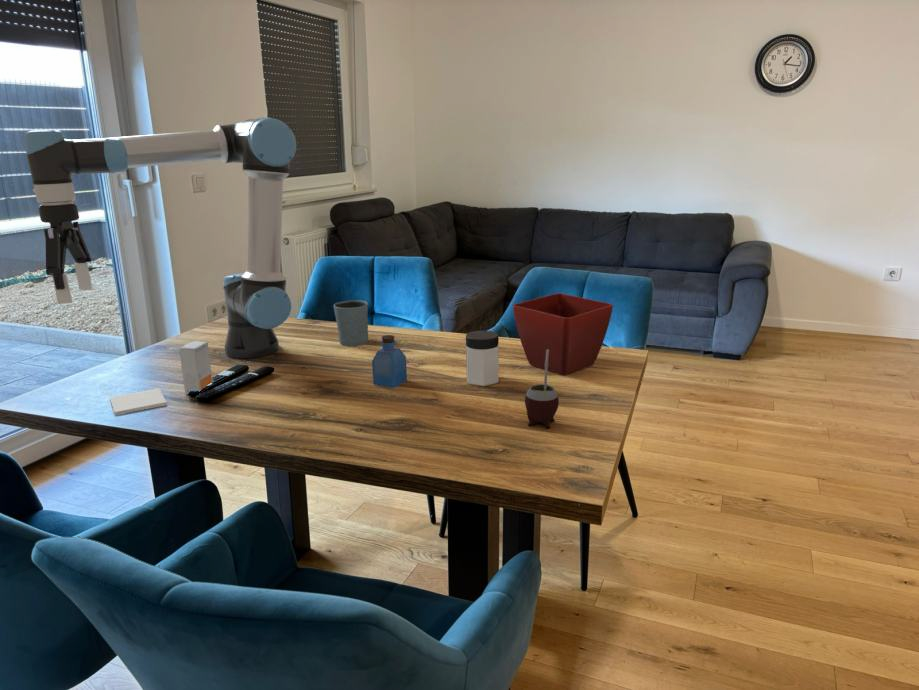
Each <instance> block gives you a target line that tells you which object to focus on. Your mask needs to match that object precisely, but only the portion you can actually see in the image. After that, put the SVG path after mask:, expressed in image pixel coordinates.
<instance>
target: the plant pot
mask: <svg viewBox="0 0 919 690" xmlns="http://www.w3.org/2000/svg"><path fill="white" fill-rule="evenodd" d="M613 308H614V304H613V303H609V302H604V301H599V300H595V299H589V298H585V297H581V296H576V295H571V294H568V293H567V294H566V293H561V292H560V293H559V292H558V293H554V294H549V295H545V296H541V297H537V298H533V299H529V300H525V301H522V302H517V303H513V305H512V310H513V314H514V316H513V317H514V321H515V325H516V329H517V333H518V336H519V340H520V342H521V346H522V348H523V351H524V355H525V357H526V360H527V362H528V363H529V365H530V366H533V367H536V368H539V369H542V370H545V367H544V366H545V360H546V350H547V349H549V356H548V370H547V372H552V373H555V374H558V375H561V376H567V375H569V374H571V373H572V374H573V373H574V372H577V371H581V370H582V369H586V368H588V367H590V366H594V364H595V362H596V360H597V357H598V356H599V353H600V351H601V348H602V347H603V344H604V340H605V337H606V335H607V332H608V328H609V325H610V321H611V318H612V312H613Z"/></svg>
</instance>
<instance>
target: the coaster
mask: <svg viewBox="0 0 919 690" xmlns="http://www.w3.org/2000/svg"><path fill="white" fill-rule="evenodd" d="M109 401H110V404H111V408H112V407H113V408H112V411H113V413H114V416H119V415H118V414H120V415H123V414H122V413H125V414H129V412H130V413H135V412H139V410H140V411H144V409H145V410H150V409H154V408H159V407H164V406H167V405H168V404H167V400H166V399H165V397H164V395H163V393H162V391H161V389H160V388H152V389H147V390H142V391H135V392H130V393H125V394H120V395H115V396H110V397H109ZM134 411H135V412H134Z"/></svg>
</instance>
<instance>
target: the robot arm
mask: <svg viewBox="0 0 919 690" xmlns="http://www.w3.org/2000/svg"><path fill="white" fill-rule="evenodd" d="M23 140H24V145H25V146H24V147H25V154H26V157H27V162H28V167H29V171H30V175H31V180H32V185H33V187H34V188H32V192H33V193H34V194H35V198H36V202H37V203H39V204H40V205H38V208H37V209H38V213H39V217H40V221H41V222H42V223H46V224H49V226H50V228H44V229H43V233H44V238H45V239H44V240H45V274H46V276H51V278H52V280H53V281H52V282H53V287H54V291H55V292H54V293H55V296H56V300H57V304H58V305H59V304H61V305H62V304H73V299H72V294H71V289H70V284H69V280H68V279H69V278H68V274H67V273H65V268H66V267H65V266H66V257H67V256H66V255H67V249H68V251H69V253H70V255H71V257H72V258H73V260H74V262H75V263H74V270H75V274H76V275H75V276H76V280H77V285H78V288H79V289H78V290H79V291H92V290H93V286H92V285H93V284H92V280H91V279H92V278H91V274H90V269H89V264H88V263H91V262H92V258H91V255H90V252H89V250H88V248H87V247H88V246H87V245H86V242H85V240H84V236H83V235H82V232H81V229H80V225H79V221H78V220H79V219H80V215H79V209H78V204H76V203H75V202H74V201H76V200H77V199H76V198H77V197H76V193H75V192H76V191H75V188H74V187H75V186H74V183H73V179H72V175H85V174H86V175H89V174H110V173H111V174H115V173H122V172H126V171H127V170H128V169H132V168H144V167H151V166H152V167H155V166H165V165H175V164H176V165H178V164H186V163H199V162H211V161H220V162H221V163H222V164H229V163H239V164H240V163H241V164H242V172H243V173H244V174H245V175H246V176H247V177H248V185H247V186H248V189H247V190H248V191H247V192H248V193H247V195H248V196H247V201H248V202H247V207H248V208H247V245H246V246H247V249H246V251H247V254H246V256H247V258H246V259H247V260H246V270H245V272H240V273H233V274H229V275H226V276H224V278H223V280H222V281H223V284H222V288H223V292H224V300H225V301H224V302H225V308H226V316H227V324H228V325H227V326H228V329H227V334H226V339H225V344H224V351H225V355H227V356H228V357H231V358H235V359H250V358H251V359H253V358H259V357H265V356H268V355H271V354H273V353H276V352H277V351H278V350H279V349H280V345H279V344H280V343H279V340H278V337H277V335H276V333H275V331H274V329H275V328H277V327H279V326H280V325H282V324H284V323H285V322H286V320H287V319H289V316H290V315H291V314H290V313H291V311H292V302H291V298H290V297H289V294H288V293H287V292H286V291H287V288H286V287H287V284H286V283H287V277H286V276H284V274H283V273H282V271H281V263H282V260H281V258H282V256H281V255H282V230H283V229H282V228H283V227H282V225H283V223H282V221H283V190H284V188H283V187H284V185H283V182H284V180H285V179H286V178H288V176H289V175H290V163H291V161H292V160H293V158H294V157H295V154H296V151H297V141H296V140H297V139H296V137H295V133H294V132H293V131H292V129H291V128H290V127H289V126H288V125H287V123H285V122H284V121H282V120H280V119H277V118H273V117H263V116H262V117H259V118H252V119H251V118H250V119H246V120H243V121H239V122H234V123H229V124H222V125H216V126H215V127H214V128H213V129H210V130H197V131H183V132H182V131H181V132H169V133H168V132H167V133H166V132H165V133H155V134H143V135H142V134H141V135H139V134H138V135H128V136H127V135H126V136H113V137H102V138H101V137H100V138H82V139H81V138H80V139H68V138H65V136H64V134H63V132H62V131H61V130H47V129H46V130H29V131H26V132H25V133H24V135H23Z"/></svg>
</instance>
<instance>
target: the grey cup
mask: <svg viewBox="0 0 919 690" xmlns="http://www.w3.org/2000/svg"><path fill="white" fill-rule="evenodd" d="M368 305H369V303H368V302H367V301H366V300H360V299H358V300H357V299H356V300H355V299H354V300H353V299H352V300H344V301H340V302H335V303H334V304H333V311H334V316H335V321H336V327H337V331H338V334H337V335H338V341H339V343H340V345H341V346H343V347H344V346H345V347H358V346H364V345H367V344H368V343H369V321H368V317H369V316H368V311H369V308H368V307H369V306H368Z"/></svg>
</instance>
